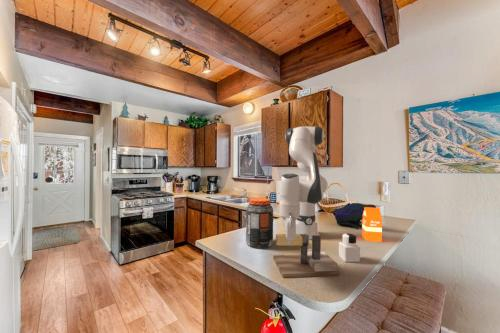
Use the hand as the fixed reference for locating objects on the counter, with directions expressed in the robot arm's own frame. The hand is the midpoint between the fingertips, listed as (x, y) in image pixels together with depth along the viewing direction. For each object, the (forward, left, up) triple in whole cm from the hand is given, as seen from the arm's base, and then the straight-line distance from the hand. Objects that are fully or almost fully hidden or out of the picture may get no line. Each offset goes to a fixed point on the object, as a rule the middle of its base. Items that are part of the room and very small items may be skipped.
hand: (288, 243), depth 93 cm
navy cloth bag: (-64, +69, -12) cm, 95 cm away
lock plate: (-3, +8, -12) cm, 14 cm away
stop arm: (-3, +3, -1) cm, 4 cm away
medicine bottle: (-9, +33, -12) cm, 36 cm away
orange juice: (-36, +64, -12) cm, 74 cm away
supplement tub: (-32, -8, -12) cm, 35 cm away
